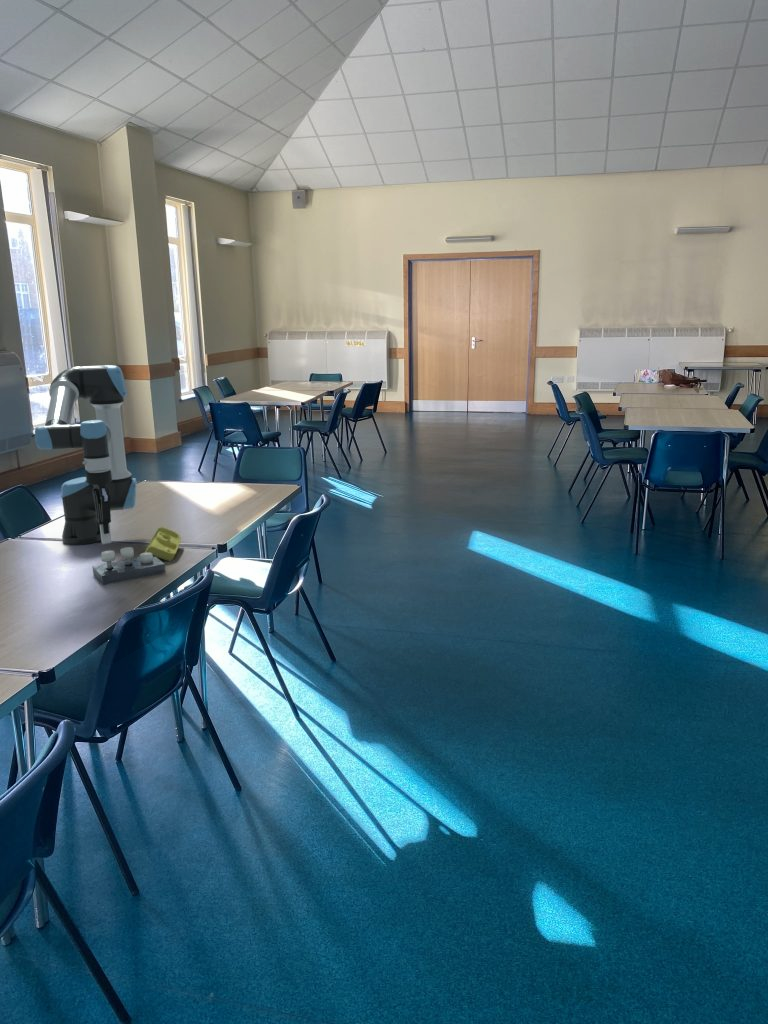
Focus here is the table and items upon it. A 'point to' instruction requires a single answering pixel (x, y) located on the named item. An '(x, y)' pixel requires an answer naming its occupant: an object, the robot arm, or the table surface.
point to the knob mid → (127, 554)
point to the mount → (127, 570)
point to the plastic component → (164, 544)
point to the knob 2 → (146, 557)
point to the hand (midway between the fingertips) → (106, 542)
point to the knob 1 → (108, 558)
